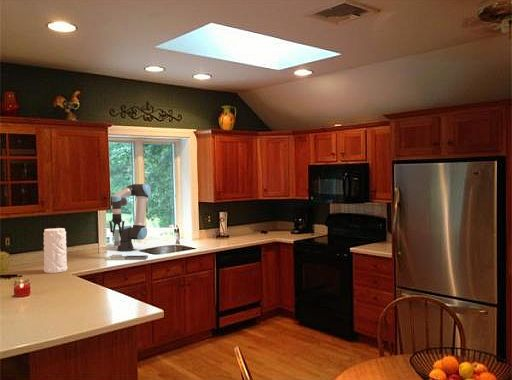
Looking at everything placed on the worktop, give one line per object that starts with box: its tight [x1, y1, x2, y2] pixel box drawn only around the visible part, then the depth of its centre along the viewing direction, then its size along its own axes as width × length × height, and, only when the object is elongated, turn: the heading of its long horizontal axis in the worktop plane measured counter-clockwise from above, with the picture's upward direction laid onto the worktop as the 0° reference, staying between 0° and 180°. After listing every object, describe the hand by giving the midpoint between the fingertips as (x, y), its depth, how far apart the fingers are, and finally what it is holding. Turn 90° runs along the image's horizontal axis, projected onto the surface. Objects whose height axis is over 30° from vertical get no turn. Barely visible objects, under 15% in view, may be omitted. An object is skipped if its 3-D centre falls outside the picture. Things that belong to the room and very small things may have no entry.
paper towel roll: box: [42, 227, 68, 274], centre depth 340 cm, size 17×16×32 cm
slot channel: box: [123, 254, 149, 261], centre depth 381 cm, size 9×18×3 cm, turn 91°
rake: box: [113, 228, 120, 247], centre depth 391 cm, size 5×4×14 cm
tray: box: [104, 255, 127, 261], centre depth 381 cm, size 11×16×3 cm
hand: (117, 240), depth 391 cm, fingers closed on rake, 3 cm apart
